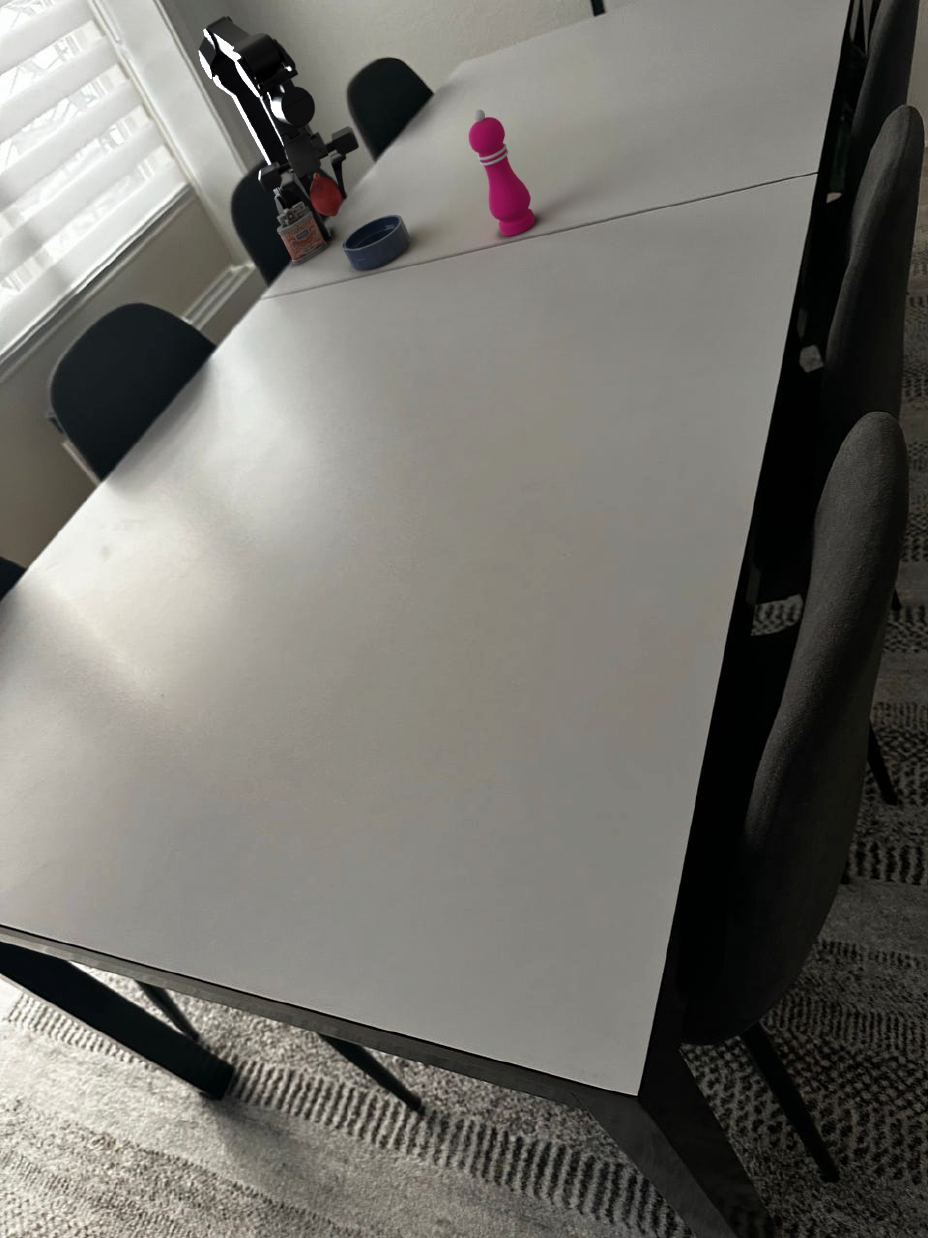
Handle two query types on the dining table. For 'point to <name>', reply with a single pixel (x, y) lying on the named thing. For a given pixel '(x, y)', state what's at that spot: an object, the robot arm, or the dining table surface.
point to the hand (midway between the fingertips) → (330, 205)
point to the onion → (325, 195)
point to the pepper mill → (501, 176)
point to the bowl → (376, 242)
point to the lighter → (300, 233)
